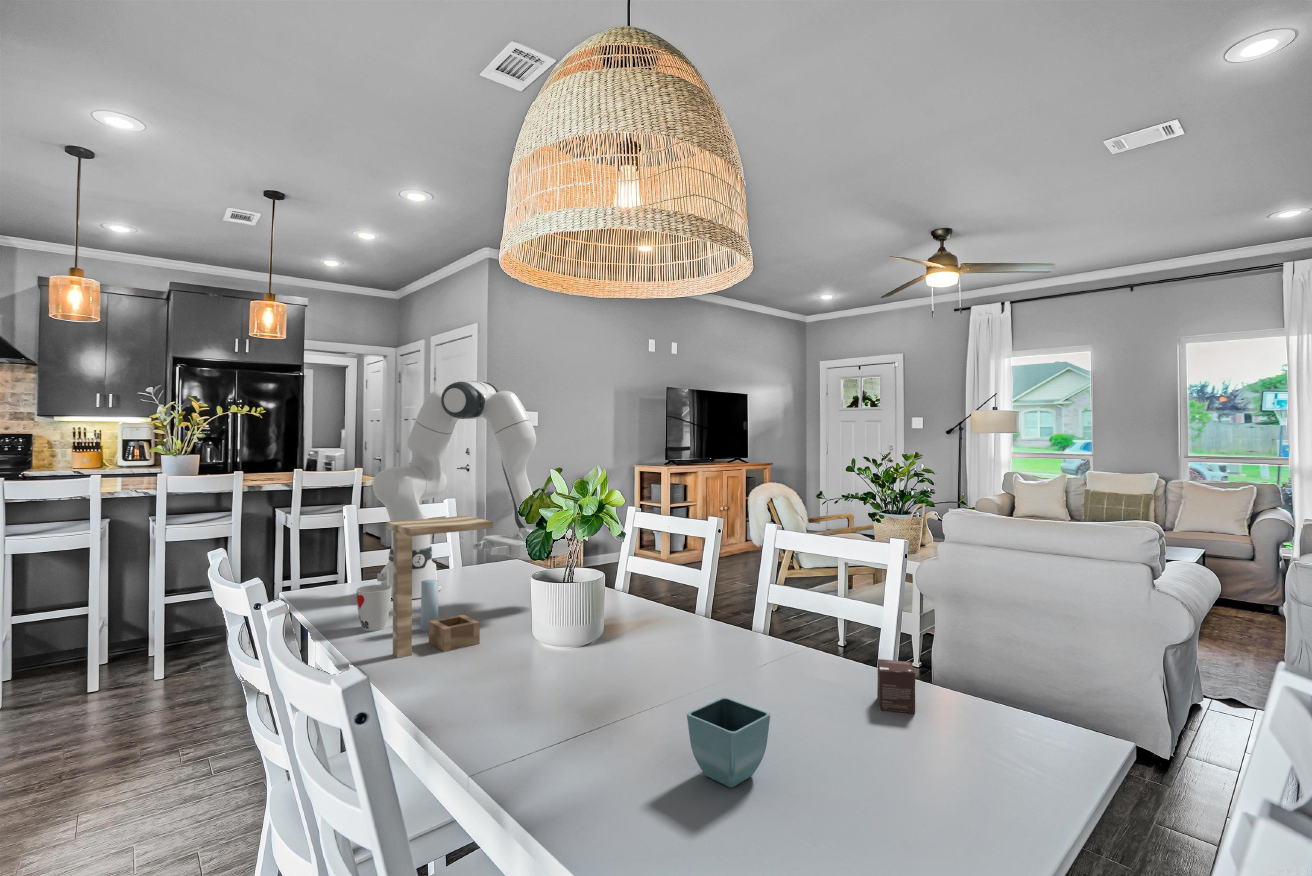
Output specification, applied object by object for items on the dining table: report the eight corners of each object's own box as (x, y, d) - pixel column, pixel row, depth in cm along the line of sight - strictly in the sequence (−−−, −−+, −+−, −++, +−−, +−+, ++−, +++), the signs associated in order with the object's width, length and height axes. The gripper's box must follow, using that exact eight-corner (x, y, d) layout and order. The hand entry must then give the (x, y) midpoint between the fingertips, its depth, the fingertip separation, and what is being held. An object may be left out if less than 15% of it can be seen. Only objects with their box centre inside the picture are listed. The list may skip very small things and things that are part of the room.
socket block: (428, 642, 149) (428, 621, 149) (463, 635, 155) (463, 614, 155) (444, 651, 143) (444, 629, 143) (479, 643, 149) (479, 622, 149)
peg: (418, 629, 160) (418, 581, 160) (434, 626, 162) (434, 578, 162) (424, 632, 157) (425, 583, 157) (440, 629, 159) (441, 581, 159)
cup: (356, 625, 162) (356, 586, 162) (390, 622, 166) (391, 583, 166) (356, 634, 155) (356, 593, 155) (392, 630, 158) (392, 590, 158)
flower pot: (684, 775, 92) (684, 712, 92) (723, 754, 98) (724, 695, 98) (732, 800, 85) (733, 733, 85) (771, 776, 92) (772, 713, 92)
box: (911, 701, 118) (912, 661, 118) (915, 714, 112) (916, 673, 112) (876, 697, 120) (877, 658, 120) (879, 710, 114) (879, 669, 114)
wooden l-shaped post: (383, 648, 145) (384, 522, 145) (464, 631, 158) (465, 515, 158) (407, 664, 135) (408, 529, 135) (492, 645, 148) (492, 521, 148)
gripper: (509, 528, 186) (464, 533, 176) (547, 535, 170) (500, 541, 161) (509, 550, 186) (464, 555, 176) (547, 559, 170) (500, 566, 161)
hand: (482, 549), depth 169 cm, fingers open, 8 cm apart
